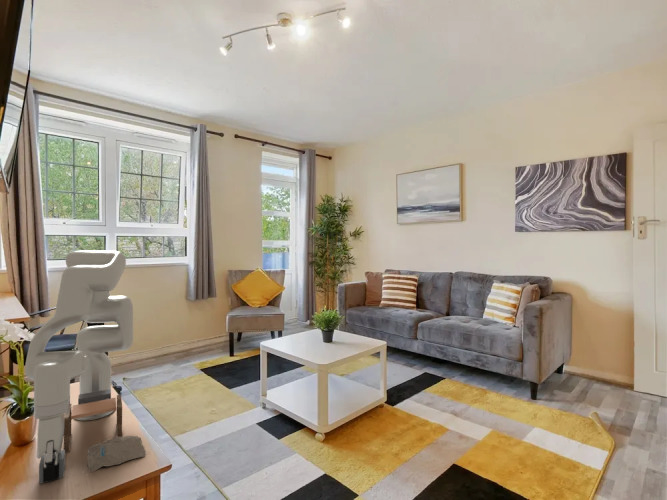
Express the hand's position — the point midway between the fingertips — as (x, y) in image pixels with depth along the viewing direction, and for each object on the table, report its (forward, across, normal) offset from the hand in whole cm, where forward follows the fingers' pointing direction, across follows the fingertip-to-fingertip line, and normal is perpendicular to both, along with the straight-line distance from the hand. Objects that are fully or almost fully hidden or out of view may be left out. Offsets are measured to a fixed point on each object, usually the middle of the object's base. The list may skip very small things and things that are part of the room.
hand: (52, 473), depth 95 cm
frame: (+1, -16, +9) cm, 18 cm away
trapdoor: (-7, -19, +9) cm, 22 cm away
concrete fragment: (+1, +1, +15) cm, 15 cm away
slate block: (+1, 0, 0) cm, 1 cm away
